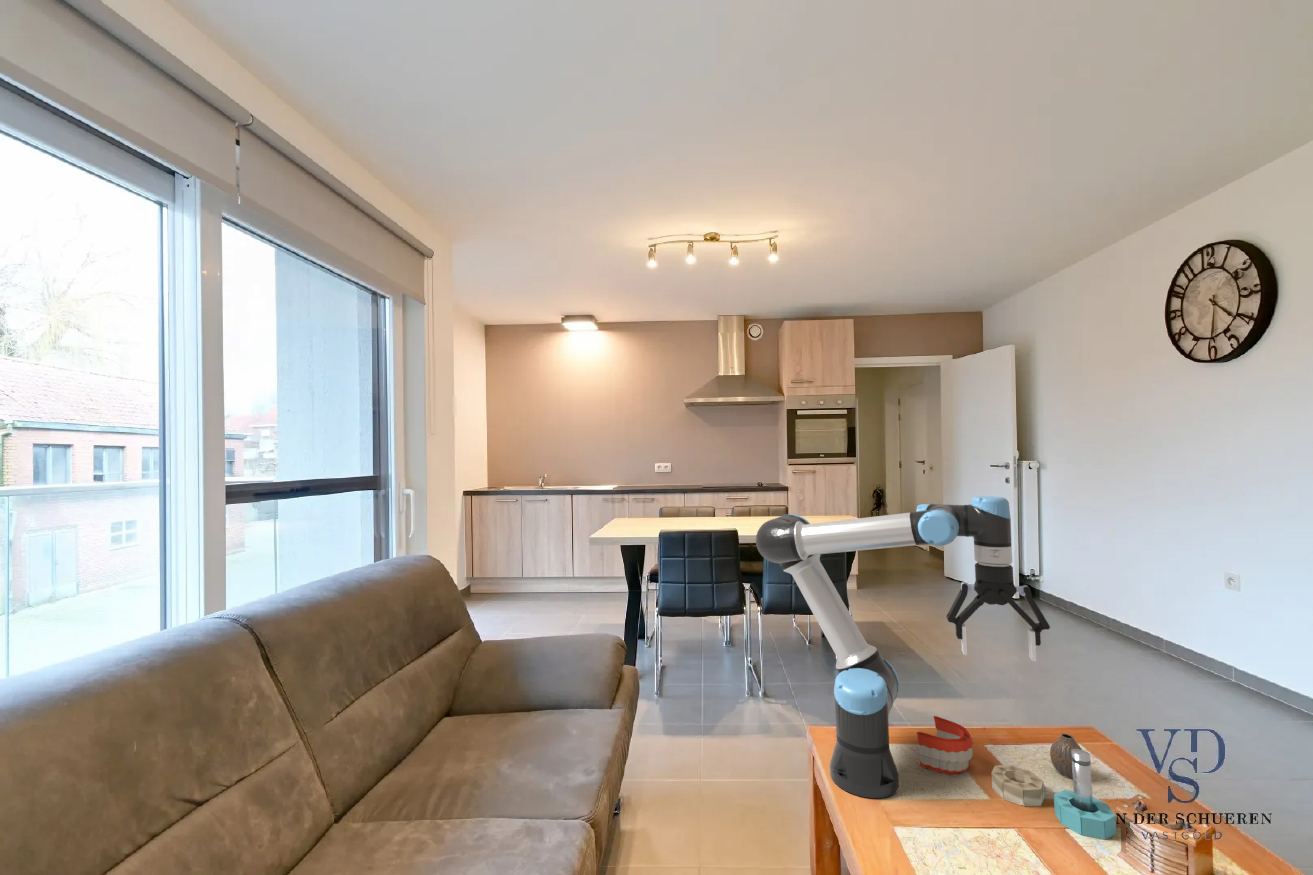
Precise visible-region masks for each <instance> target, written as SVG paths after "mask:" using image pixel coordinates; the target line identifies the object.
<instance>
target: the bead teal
mask: <svg viewBox="0 0 1313 875" xmlns="http://www.w3.org/2000/svg"><path fill="white" fill-rule="evenodd" d="M1092 800H1093V813H1091V812H1085V811H1081V810H1079V809H1077V808H1076V807H1074V790H1073V791H1072V790H1068V789H1067V790H1065V789H1064V790H1061V791H1060V792H1057V793H1055V794H1054V795H1053V803H1054V804H1053V805H1054V814H1055V817H1056V818H1057V819H1058V821H1059V823H1060V824H1061V826H1064V827H1065V828H1068V829H1070V830H1071V831H1073V832H1075V833H1077V835H1080V836H1083V837H1087V838H1089V837H1090V838H1094V839H1099V840H1104V841H1105V840H1108V839H1110V838H1112V837H1114V836H1116V835H1117V821H1116V813H1115V812H1114V811H1113V809H1112V808H1111V807H1110V806H1109V804H1108V803H1106V802H1105V801H1103V800H1100V799H1099V798H1097V797H1094V796H1092Z"/></svg>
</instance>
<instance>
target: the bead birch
mask: <svg viewBox="0 0 1313 875" xmlns="http://www.w3.org/2000/svg"><path fill="white" fill-rule="evenodd" d="M991 787H992V791H994V792H995V793H996V794H997V795H998V796H999V797H1000V798H1002V800H1004V801H1007V802H1011V803H1013V804H1016V805H1019V806H1021V805H1023V806H1022V807H1025V806H1027V807H1041V806H1043V803H1044V800H1045V784H1044V780H1043V779H1042V778H1041V777H1040V776H1038V775H1037V774H1036V773H1034V771H1031V770H1028V769H1026V768H1023V767H1019V766H1016V765H1013V764H999V765H994V766H993V769H992V770H991Z"/></svg>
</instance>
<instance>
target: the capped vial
mask: <svg viewBox="0 0 1313 875" xmlns="http://www.w3.org/2000/svg"><path fill="white" fill-rule="evenodd" d="M1071 753H1072V755H1071V758H1072V771H1073V779H1072V784H1073V785H1072V786H1073V787H1072V788H1073V789H1072V790H1073V792H1074V807H1076V808H1077V809H1079V810H1081V811H1085V812H1091V813H1093V800H1092V797H1093V787H1092V770H1091V768H1092V766H1091V763H1092V761H1091V754H1090V753H1089V752H1088V751H1087V750H1085V749H1082V750H1081V749H1072V750H1071Z"/></svg>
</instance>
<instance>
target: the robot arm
mask: <svg viewBox="0 0 1313 875" xmlns="http://www.w3.org/2000/svg"><path fill="white" fill-rule="evenodd" d="M1011 517H1012V516H1011V510H1010V502H1009V500H1008V499H1007V498H1006V497H1003V496H995V495H994V496H989V495H988V496H987V495H986V496H984V495H983V496H978V495H977V496H973V497H972V499H971V503H970V504H943V503H942V504H941V503H939V504H938V503H937V504H936V503H926V504H925V503H924V504H923V503H922V504H918V505H917V507H916V511H913V512H903V513H896V514H895V513H894V514H884V515H878V516H868V517H859V518H852V519H851V518H850V519H842V520H833V521H824V522H815V523H810V522H809V521H808V520H807V519H806V518H804V517H803V516H801V515H798V514H797V515H796V514H783V515H781V516H778V517H776V518H773V519H768V520H767V521H765V522H763V523H762V524H761V526H760V527H759V528H758V530H757V533H756V535H755V544H756V548H757V550H758V552H759V554H760V555H761V557H762V558H764V559H765V560H766V561H767V562H768V561H769V562H771V563H775V564H779V566H780V568H781V570H782V571H783V572H784V573H788V574H790V575H791V576H792V578H793V579H794V581H795V584H796V585H797V587H798V588H799V591H800V593H801V594H802V596H803V598H804V600H805V601H806V603H807V606H808V607H809V609H810V611H811V612H812V614H813V616H814V618H815V620H816V622H817V624H818V625H819V627H820V628H821V630H822V632H823V635H824V637H825V638H826V640H827V641H828V643H829V645H830V647H831V648H832V651H833V653H834V654H835V656H836V664H835V668H836V671H837V672H838V674H837V675H836V678H835V680H834V687H833V693H834V694H833V696H834V706H835V708H834V709H835V730H836V732H835V734H836V743H835V745H834V749H833V752H832V755H831V759H830V763H829V771H830V772H829V773H830V777H831V778H830V779H832V781H833V783H835V785H836V786H838V787H839V788H840V789H842V790H844V791H845V792H847V793H850V794H852V795H854V796H858V797H860V798H861V797H862V798H868V799H869V798H870V799H883V798H888V797H891V796H892V795H895V794H896V793H897V792H898V791H899V788H900V776H899V775H900V774H899V771H898V768H897V765H896V763H895V760H894V757H893V754H892V752H891V749H890V731H889V730H890V728H889V727H890V726H889V716H890V714H891V711H892V707H893V705H894V703H895V701H896V698H897V696H898V693H899V678H898V674H897V671H896V669H895V668H894V667H893V665H892V664H891V663H890V661H888V660H887V659H886V658H883V657H882V655H881V654H880V652H879V651H878V649H877V647H876V646H874V645H871V644H869V643H867V641H866V639H865V638H864V635H863V634H862V633H861V631H860V629H859V627H858V625H857V624H856V622H855V619H854V618H853V617H852V615H851V613H850V612H849V609H848V608H847V606H846V604H845V603H844V601H843V599H842V597H841V596H840V594H839V592H838V590H837V588H836V587H835V585H834V583H833V581H832V580H831V578H830V577H829V574H828V573H827V571H826V569H825V568H824V566H823V564H822V562H821V559H820V558H821V555H824V554H825V555H826V554H835V553H847V552H848V553H849V552H858V551H867V550H879V549H890V548H891V549H892V548H902V547H911V546H914V547H915V546H926V545H929V546H930V545H932V546H937V547H943V546H946V545H949V544H951V543H952V542H954V540H955V539H956V538H957V537H965V538H969V537H970V538H971V537H972V538H973V550H974V561H975V562H976V563H974V573H975V581H974V583H973V584H972V583H968V582H965V581H961V582H960V583H959V585H960V586H959V591H958V594H957V595H956V597H955V599H954V602H953V603H952V604H951V607H950V608H949V611H947V615H946V619H947V622H949V623H952V624H954V626H955V635H956V638H957V639H958V640H960V641H961V642H960V643H961V652H962V654H963V656H968V642H967V641H968V638H967V626H966V624H965V622H966V621H967V620H968V619H970V618H971V617H972V616H973V615H974V613H975V612H976V611H977V610H978V609H979V608H980V607H981V606H983V605H984V604H985V603H986V604H988V605H998V606H1006V605H1007V604H1009V606H1010V607H1012V608H1013V609H1014V610H1015V611H1016V613H1018V615H1019V616H1020V617H1021V618H1022V619H1023V620H1024V621H1025V622H1026V623H1027V624H1028V625H1029V626H1030V627H1031V628H1027V640H1028V641H1027V644H1028V657H1029V659H1030V660H1031V661H1032V662H1037V648H1036V647H1037V646H1038V647H1040V646H1041V641H1042V640H1041V638H1042V637H1041V633H1042V631H1044V630H1049V629H1050V628H1051V626H1050V624H1049V622H1048V621H1047V619H1046V617H1045V616H1044V614H1043V613H1042V611H1041V610H1040V607H1039V606H1038V605H1037V603H1036V601H1035V599H1034V597H1033V595H1032V589H1031V588H1030V587H1029V586H1028V585H1027V584H1022V585H1020V586H1019V585H1018V586H1015V583H1014V582H1015V581H1014V566H1012V564H1013V562H1014V561H1013V548H1012V528H1011V527H1012V523H1011ZM972 590H974V591H975V593H976V594H977V595H976V596H975V597H974V598H973V600H972V601H971V602H970V603H969V604H968V605H967V606H966V607H965V608H964V609H963V610H962V611H961V612H960V609H961V608H962V606H963V604H964V602H965V600H966V599H967V597H968V594H970V593H972ZM1017 593H1019V595H1020V596H1022V597H1023V598H1024V599H1025V602H1026V603H1027V605H1028V607H1029V608H1030V609H1031V611H1032V613H1033V615H1034V616H1035V619H1036V620H1037V621H1038V622H1035V621H1034V620H1033V619H1032V618H1031V617H1030V616H1029V615H1028V614H1027V613H1026V612H1025V611H1024V609H1022V608H1021V607H1020V605H1018V603H1016V601H1015V600H1013V597H1014V596H1015V595H1016V594H1017ZM959 612H960V613H959ZM958 613H959V614H958Z"/></svg>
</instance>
